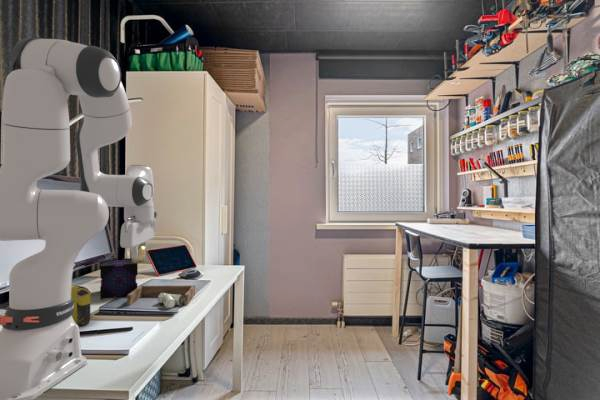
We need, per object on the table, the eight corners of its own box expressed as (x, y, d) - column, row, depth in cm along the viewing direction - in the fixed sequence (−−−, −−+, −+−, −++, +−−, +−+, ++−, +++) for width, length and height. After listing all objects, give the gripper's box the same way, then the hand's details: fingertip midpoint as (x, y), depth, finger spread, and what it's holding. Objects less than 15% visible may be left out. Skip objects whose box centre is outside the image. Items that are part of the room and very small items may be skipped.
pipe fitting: (172, 311, 116) (184, 303, 122) (172, 300, 115) (183, 292, 122) (151, 309, 118) (164, 301, 124) (151, 297, 117) (163, 290, 124)
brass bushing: (142, 263, 114) (142, 247, 114) (129, 262, 114) (129, 247, 114) (146, 260, 118) (146, 245, 118) (134, 259, 118) (134, 245, 118)
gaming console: (95, 324, 102) (95, 290, 102) (79, 328, 99) (79, 293, 99) (55, 307, 116) (55, 277, 116) (40, 310, 113) (40, 279, 112)
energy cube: (100, 299, 125) (100, 266, 125) (101, 291, 135) (101, 260, 135) (137, 295, 131) (137, 263, 130) (135, 287, 141) (135, 257, 141)
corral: (187, 305, 120) (187, 294, 120) (127, 305, 119) (127, 295, 119) (195, 294, 132) (195, 285, 132) (140, 295, 131) (140, 285, 131)
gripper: (136, 218, 105) (135, 263, 106) (159, 212, 126) (158, 250, 126) (114, 217, 105) (114, 263, 106) (141, 211, 125) (140, 250, 126)
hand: (138, 256), depth 116 cm, fingers closed on brass bushing, 4 cm apart
